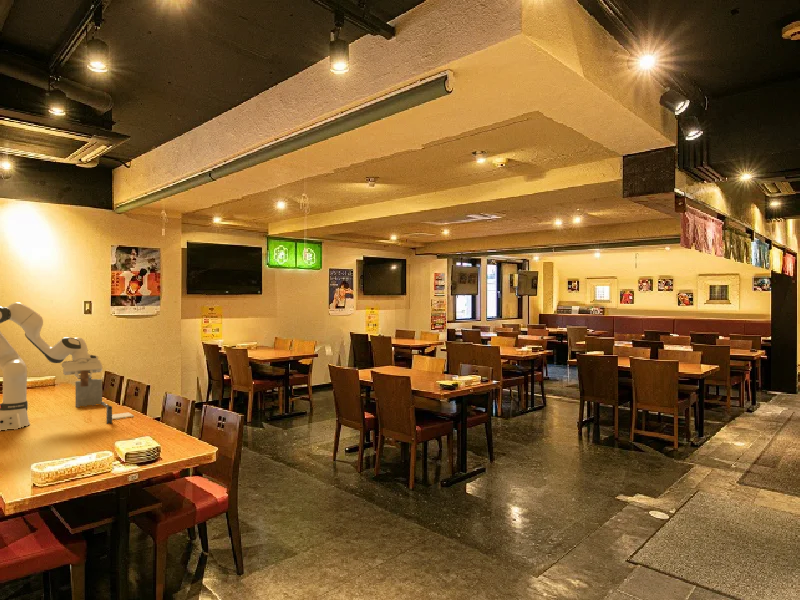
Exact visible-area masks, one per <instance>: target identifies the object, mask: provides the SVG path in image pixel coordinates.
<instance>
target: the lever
mask: <svg viewBox="0 0 800 600" xmlns="http://www.w3.org/2000/svg"><path fill="white" fill-rule="evenodd" d="M101 405H102V406H104V407H105V408H106V424H107V425H109V424H108V423H111V424H113V420H112V415H113V406H112V405H109V404H107V403H105V401H102V402H101ZM101 405H100V406H101Z"/></svg>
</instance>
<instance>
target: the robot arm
mask: <svg viewBox="0 0 800 600" xmlns="http://www.w3.org/2000/svg"><path fill="white" fill-rule="evenodd" d="M6 321H11V322H13V323H15V324H16V325H18V326H19V327H20V328H21V329H22V330H23V332H24V336H25V338H27V340H28V341H29V342H30V343H31V344H32V345H33V346H34V347H36V349H37V350H39V352H41V354H43V356H44V357H45V358H46V360H47V361H48V362H49V363H54V364H61V367H62V372H63V375H65V376H71V375H74V377H77V380H81V371H88V378H91V377H92V374H94V373H101V372H102V371H103V365H102V362H101V360H100V359H99V356H98V355H93V354H89V353H88V350H89V349H88V346H87V343H86V341H85V339H84V338H82V337H69V336H64V337H62V338H61V339H60V340H59V341H58V342H56V343H55V344H54V345H53V346H50V345H49V344H48V343H47V342H46V341H45V340H44V339H43V338H42V337H41V330H42V328H43V325H44V319H43V317H42V316H41V315H40V314H39V313H38V312H36V311H35V310H34V309H32V308H31V307H29V306H27V305H26V304H23V303H22V302H20V301H19V302H18V301H16V302H13V303H11V304H9V305H8V306H5V307H4V306H1V305H0V324H2V323H4V322H6ZM70 355H71V358H72V360H68V361H67V360H66V361H65V359H66V358H68V357H69V356H70ZM0 370H1V371H2V403H0V432H2V431H1V430H5V431H8V430H7V429H14V430H19V429H18V428H20V429H21V427H22V428H24V426H26V427H29V426H30V425H31V423H30V421H29V415H28V410H29V403H28V400H27V396H28V395H27V393H28V392H27V390H28V389H27V388H28V386H27V384H28V383H27V382H28V367H27V364H26V362H25V360H23V359H22V357H21V355H20V354H19V353H18V352H17V351H16V350H15V348H14V347H13V346H12V344H10V342H9V341H8V339H7V338H6V337H5V336H4V334H3V332H1V331H0ZM91 379H92V378H91ZM28 425H29V426H28Z"/></svg>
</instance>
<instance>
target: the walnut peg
mask: <svg viewBox="0 0 800 600" xmlns="http://www.w3.org/2000/svg"><path fill="white" fill-rule="evenodd" d="M88 374H89V373H88V371H81V374H80V375H81V379H80V381H81V387H85V386H88Z"/></svg>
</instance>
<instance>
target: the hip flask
mask: <svg viewBox="0 0 800 600" xmlns="http://www.w3.org/2000/svg"><path fill="white" fill-rule="evenodd" d="M101 402H103V379H102V378H98V379H97V378H93V376H91V378H88V386H85V387H81V380H76V381H75V408H81V407H80V406H84V407H88V406H87V405H92V406H97V405H96V404H101Z"/></svg>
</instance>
